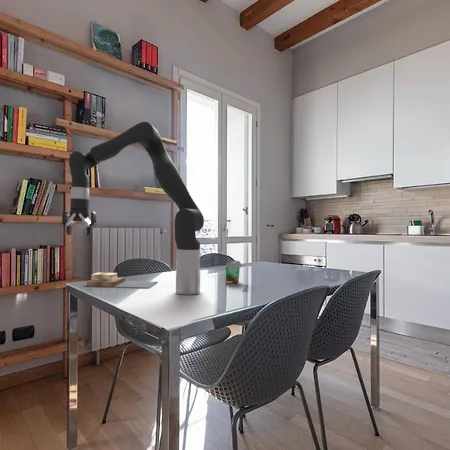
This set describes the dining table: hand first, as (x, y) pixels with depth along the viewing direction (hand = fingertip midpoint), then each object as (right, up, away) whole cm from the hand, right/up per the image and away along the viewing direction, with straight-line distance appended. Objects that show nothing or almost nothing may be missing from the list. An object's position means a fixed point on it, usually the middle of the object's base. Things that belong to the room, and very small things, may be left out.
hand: (78, 235), depth 143 cm
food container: (+68, -23, +9) cm, 73 cm away
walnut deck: (+12, -22, +1) cm, 25 cm away
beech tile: (+11, -20, +1) cm, 22 cm away
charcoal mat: (+26, -22, 0) cm, 34 cm away
